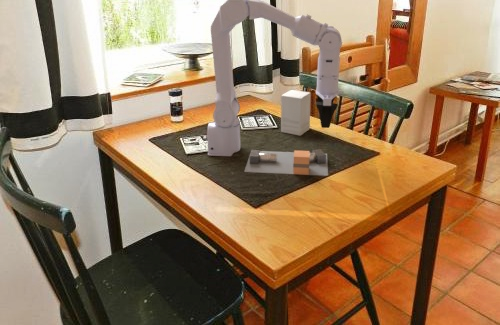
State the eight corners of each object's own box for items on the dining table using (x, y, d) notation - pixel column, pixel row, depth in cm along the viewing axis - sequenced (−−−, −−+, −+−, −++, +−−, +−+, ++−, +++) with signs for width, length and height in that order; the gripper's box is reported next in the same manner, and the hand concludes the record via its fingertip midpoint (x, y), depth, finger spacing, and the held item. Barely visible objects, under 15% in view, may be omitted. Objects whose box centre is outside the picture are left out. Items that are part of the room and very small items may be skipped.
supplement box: (310, 129, 150) (311, 92, 145) (300, 136, 145) (301, 98, 139) (290, 125, 154) (291, 89, 148) (280, 132, 148) (280, 94, 143)
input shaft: (249, 167, 125) (249, 156, 123) (251, 160, 128) (251, 149, 127) (275, 168, 124) (275, 157, 122) (277, 161, 128) (277, 150, 126)
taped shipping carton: (293, 174, 118) (293, 156, 116) (293, 167, 122) (294, 150, 120) (308, 174, 118) (309, 157, 116) (309, 167, 121) (309, 150, 119)
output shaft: (300, 169, 123) (300, 158, 121) (295, 162, 127) (296, 151, 125) (325, 166, 124) (326, 155, 123) (320, 160, 128) (320, 149, 127)
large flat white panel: (244, 175, 120) (244, 171, 120) (251, 153, 133) (251, 150, 132) (327, 179, 118) (328, 175, 117) (326, 156, 130) (327, 153, 130)
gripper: (344, 82, 114) (340, 132, 120) (341, 68, 127) (338, 114, 133) (316, 81, 115) (314, 131, 121) (316, 68, 128) (314, 113, 134)
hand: (325, 122), depth 127 cm, fingers open, 7 cm apart
